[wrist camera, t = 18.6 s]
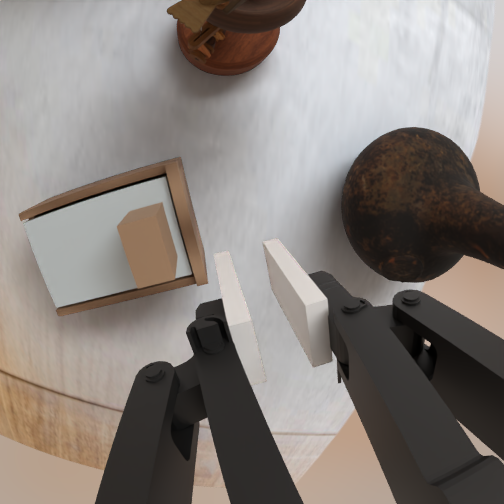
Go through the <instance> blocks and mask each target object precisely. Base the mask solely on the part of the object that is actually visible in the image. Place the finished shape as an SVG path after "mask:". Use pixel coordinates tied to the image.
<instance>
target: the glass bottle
mask: <svg viewBox="0 0 504 504" xmlns="http://www.w3.org/2000/svg"><path fill="white" fill-rule="evenodd" d="M342 218H343V222H344V227H345V231H346V234H347V236H348V239H349V241H350V243H351V245H352V247H353V248H354V250H355V252H356V253H357V254H358V256H359V257H360V258H361V259H362V260H363V261H364V262H365V263H366V264H367V265H368V266H369V267H370V268H371V269H373V270H374V271H375V272H377V273H379V274H380V275H382V276H384V277H385V278H387V279H389V280H392V281H400V282H402V283H403V282H424V281H429V280H432V279H434V278H436V277H439V276H440V275H442V274H444V273H445V272H447V271H448V270H449V269H451V268H452V267H453V266H454V265H455V264H456V263H457V262H458V261H459V260H460V259H461V258H462V257H463V255H466V256H470V257H473V258H476V259H479V260H482V261H485V262H487V263H490V264H492V265H494V266H497V267H499V268H502V269H504V205H502V204H500V203H498V202H496V201H495V200H493V199H492V198H490V197H488V196H486V195H484V194H483V193H481V192H480V188H479V183H478V180H477V176H476V173H475V171H474V169H473V166H472V164H471V162H470V161H469V159H468V157H467V156H466V155H465V153H464V152H463V151H462V150H461V148H460V147H459V146H458V145H456V143H454V142H453V141H452V140H451V139H449V138H447V137H446V136H444V135H442V134H440V133H438V132H435V131H433V130H429V129H425V128H417V127H410V128H401V129H397V130H394V131H391V132H389V133H386V134H384V135H382V136H380V137H379V138H377V139H376V140H374V141H373V142H372V143H371V144H369V145H368V146H367V147H366V148H365V149H364V150H363V151H362V152H361V153H360V154H359V156H358V157H357V158H356V160H355V161H354V163H353V165H352V166H351V168H350V170H349V172H348V175H347V177H346V181H345V184H344V188H343V195H342Z"/></svg>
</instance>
